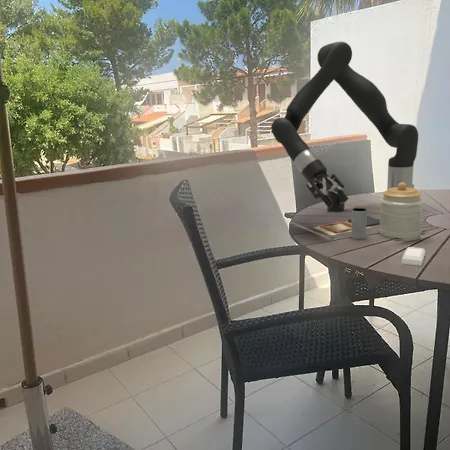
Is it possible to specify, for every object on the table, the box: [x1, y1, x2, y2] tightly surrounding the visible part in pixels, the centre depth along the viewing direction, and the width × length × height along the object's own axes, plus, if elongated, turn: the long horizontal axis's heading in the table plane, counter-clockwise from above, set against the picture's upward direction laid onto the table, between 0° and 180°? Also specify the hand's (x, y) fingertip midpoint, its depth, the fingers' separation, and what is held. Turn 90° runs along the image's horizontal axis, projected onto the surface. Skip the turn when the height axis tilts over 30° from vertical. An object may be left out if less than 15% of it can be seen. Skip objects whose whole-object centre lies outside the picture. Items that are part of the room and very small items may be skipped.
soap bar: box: [401, 246, 426, 267], centre depth 121 cm, size 5×9×3 cm, turn 150°
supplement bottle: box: [326, 184, 346, 213], centre depth 173 cm, size 7×7×12 cm
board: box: [311, 216, 380, 240], centre depth 152 cm, size 26×11×2 cm, turn 113°
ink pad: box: [347, 215, 380, 227], centre depth 154 cm, size 9×9×1 cm
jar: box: [378, 182, 424, 242], centre depth 139 cm, size 13×13×18 cm
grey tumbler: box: [350, 207, 368, 240], centre depth 138 cm, size 4×4×10 cm
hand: (339, 203), depth 141 cm, fingers open, 8 cm apart
